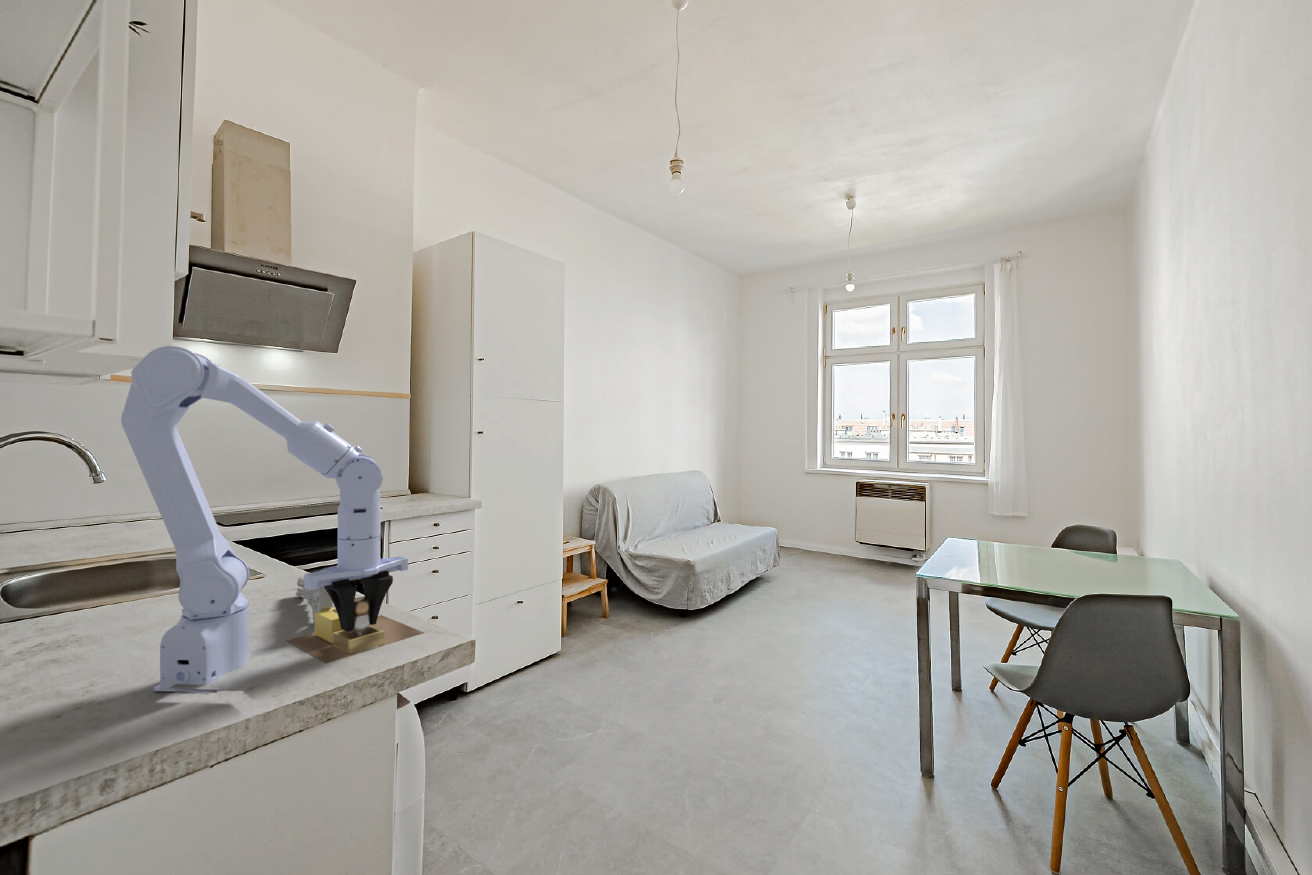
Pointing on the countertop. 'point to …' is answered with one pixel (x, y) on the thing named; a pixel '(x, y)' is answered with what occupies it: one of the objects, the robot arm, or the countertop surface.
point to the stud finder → (327, 623)
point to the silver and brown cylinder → (361, 617)
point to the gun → (314, 597)
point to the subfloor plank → (354, 640)
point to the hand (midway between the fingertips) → (358, 626)
